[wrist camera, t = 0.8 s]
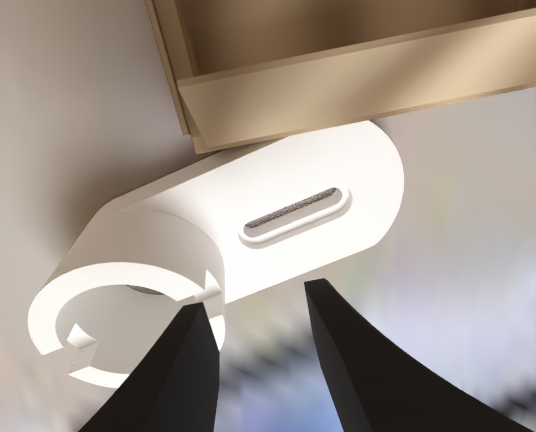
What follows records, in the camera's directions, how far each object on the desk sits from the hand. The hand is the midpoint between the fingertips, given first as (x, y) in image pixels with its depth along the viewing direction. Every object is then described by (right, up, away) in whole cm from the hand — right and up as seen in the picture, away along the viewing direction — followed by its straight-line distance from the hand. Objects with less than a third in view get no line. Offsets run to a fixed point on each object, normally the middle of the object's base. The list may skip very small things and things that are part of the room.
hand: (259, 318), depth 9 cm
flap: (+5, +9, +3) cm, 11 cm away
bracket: (-2, +3, +11) cm, 11 cm away
